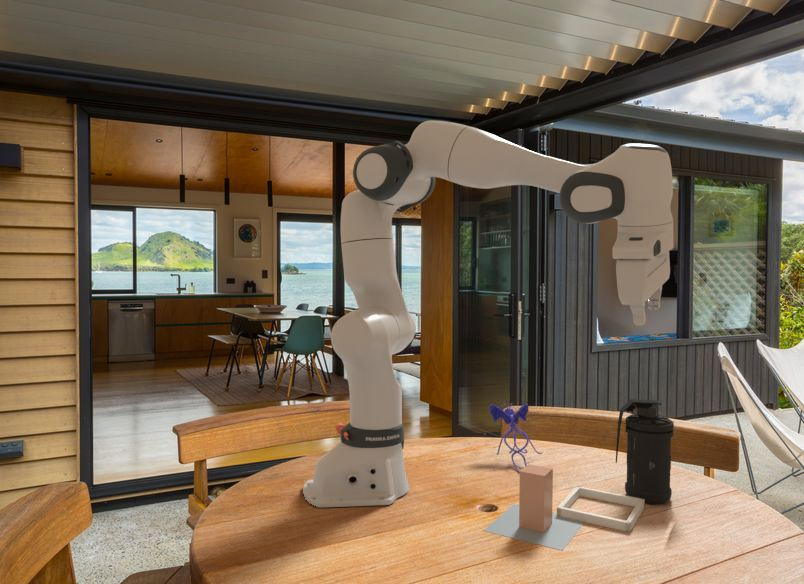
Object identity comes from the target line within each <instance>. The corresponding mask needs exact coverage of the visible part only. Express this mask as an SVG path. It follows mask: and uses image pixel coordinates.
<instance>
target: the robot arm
mask: <svg viewBox="0 0 804 584" xmlns="http://www.w3.org/2000/svg"><path fill="white" fill-rule="evenodd" d="M352 178H353V181H354V185H355V186H356V188H357V189H356V190H353V191H351V192H349V193H348V194H347V195H345V197H344V198H343V200H342V201H341V202H342V203H341V210H340V211H341V212H340V243H341V255H342V266H343V275H344V276H343V277H344V281H345V283H346V285H347V286H348V287H349V288H350V290H351V291H352V293H353V295H354V298H355V301H356V304H357V307H358V309H354V310H351V311H350V312H348V313H346V314H344V315H343V316H342V317H340V318H339V319H337V321H336V322H335V323H334V324H333V327H332V328H331V333H330V341H331V347H332V349H333V351H334V352H335V354H336V355H337V356H338V357H339V358H340V359H341V361H342V364H343V367H344V370H345V371H344V372H345V374H346V377H347V384H348V390H349V422H348V423H346V425H344V423H342V422H338V423H336V425H335V431H336V432H337V433H338V434H339V435H340V442H339V443H337V444H336V445H335V446H333V447H332V448H331V449H330V450H328V451H327V452H326V453H325V454H324V455H322V456H321V457H320V458H319V459H318V460H317V461H316V465H315V468H314V472H313V478H312V479H308V480H306V482H305V483H304V484H303V486H302V487H303V488H302V495H303V494H304V496H303V498H304V497H305V498H304V500H305V501H306V500H307V501H308V502H309V503H308V502H307V501H306V502H307V503H308V504H310V503H311V504H312V505H311V504H310V505H311V506H313V505H314V507H315V506H316V508H339V507H341V508H342V507H364V506H365V507H368V506H389V505H392V504H393V503H394V502H395V501H396V500H397V499H398V498H401V497H403V496H404V495H406V494H407V493H408V492H409V490H410V485H409V482H408V481H409V480H408V478H407V474H406V468H405V460H404V459H405V458H404V451H403V449H404V448H405V446H404V445H405V426H404V425H405V423H404V422H403V420H402V418H403V416H402V415H403V414H402V413H403V411H402V409H403V408H402V407H403V402H402V401H403V398H402V397H403V395H402V394H403V389H402V385H401V383H400V382H399V381H398V380H397V376H396V374H395V370H394V366H393V359H392V358H393V355H395V354H398V353H400V352H402V351H403V350H405V349H406V348H407V347H408V346H410V343H412V341H413V340H414V338H415V335H416V322H415V319H414V318H413V316H412V314H411V313H410V312H409V310H408V309H407V305H406V302H405V298H404V296H403V292H402V289H401V286H400V281H399V277H398V272H397V264H396V255H395V254H396V253H395V243H394V235H393V225H392V224H393V223H392V222H393V216H394V214H395V213H396V212H398V213H402V212H405V211H407V210H409V209H410V208H413V207H414V206H417V205H420V204H422V203H423V202H425V201H426V200H428V198H429V197H431V195H432V193H433V192H434V189H435V186H436V178H439V179H443V180H446V181H448V182H451V183H454V184H457V185H460V186H463V187H469V188H475V189H484V190H485V189H487V190H488V189H495V188H501V187H509V186H520V185H521V186H530V187H531V186H532V187H536V188H540V189H543V190H546V191H551V192H554V193H558V194H559V203H560V207H561V209H562V211H563V213H564V215H565V216H567V218H568V219H570V220H571V221H573V222H575V223H577V224H578V223H579V224H586V225H587V224H588V225H591V224H596V223H599V222H602V221H606V220H610V219H614V220H617V221H616V222H617V234H616V240H615V242H614V244H613V246H612V250H611V252H612V259H614V260H616V265H615V273H616V276H615V277H616V284H617V285H616V286H617V295H618V299H619V301H620V303H621V305H623V306H629V308H630V311H631V313H632V322H633V323H632V324H633V325H635V326H639V327H640V326H641V327H644V325H646V323H647V313H646V310H645V306H646V302H647V309H648V311H656V312H657V310H659V309H660V307H661V297H662V292H663V291H662V290H663V285H664V284H665V283H666V282H667V281H668V280H669V279H670V275H671V266H670V265H671V262H670V251H671V250H673V249H674V217H673V214H672V210H671V204H672V199H673V196H674V190H673V189H674V188H673V186H674V184H673V169H672V164H671V158H670V155H669V153H668V151H667V150H665V148H663V147H661V146H659V145H655V144H652V143H651V144H649V143H626V144H622V145H620V146H619V148H617V149H616V150H615V152H613V153H610V155H608V156H606V157H605V158H604V159H601V160H600V161H598V162H596V163H590V164H583V163H578V162H577V163H576V162H573V161H569V160H565V159H561V158H559V157H558V158H557V157H554V156H550V155H547V154H543V153H538V152H535V151H533V150H529V149H528V148H525V147H524V146H523V147H522V146H520V145H518V144H515V143H513V142H511V141H509V140H506V139H504V138H502V137H499V136H498V135H496V134H493V133H490V132H488V131H485V130H482V129H479V128H477V127H473V126H469V125H465V124H463V123H462V124H461V123H457V122H450V121H445V120H444V121H443V120H426V121H424V122H421V123H420V124H418V126H417V127H416V128H415V129H414V130H413V132H412V134H411V137H410V139H409V140H408V142H407V143H406V144H404V143H402V142H401V141H400V140H395V141H392V142H389V143H385V144H379V145H375V146H371V147H369V148H367V149H365V150H364V151H362V152H361V153H360V154H359V155H358V156H357V157H356V160H355V162H354V164H353V169H352Z"/></svg>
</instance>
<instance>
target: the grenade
mask: <svg viewBox="0 0 804 584" xmlns="http://www.w3.org/2000/svg"><path fill="white" fill-rule="evenodd" d="M661 403H662V402H660V401H659V400H652V399H637V398H635V399H633V398H631V399H630V400H629V401H627V403H625V404H624V405H623V406H622V407H621V408H620V409H619V414H618V421H617V431H616V432H617V433H616V446H615V448H616V449H615V451H616V452H615V463H616V464H617V463H618V457H619V456H618V452H619V445H620V444H619V443H620V435H621V424H622V420H623V416H624V413H625V411H626V412H627V413H628V414H630V415H629V416H626V417H625V433H627V442H626V443H627V445H626V446H627V449H626V482H625V483H624V490H625V494H626V496H631V497H636V498H641V499H645V504H652V505H653V504H654V505H655V504H664V503H666V502H668V501H670V499H671V498H672V491H673V490H672V488H671V469H672V453H671V450H672V437H673V436H674V432H675V431H674V428H675V427H674V426H675V425H674V424H675V423H674V421H673V420H671V419H670V418H669V417H667V416H664V415H663V416H660V415H659V414H658V412H657V411H658V405H659V406H662V404H661Z"/></svg>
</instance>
